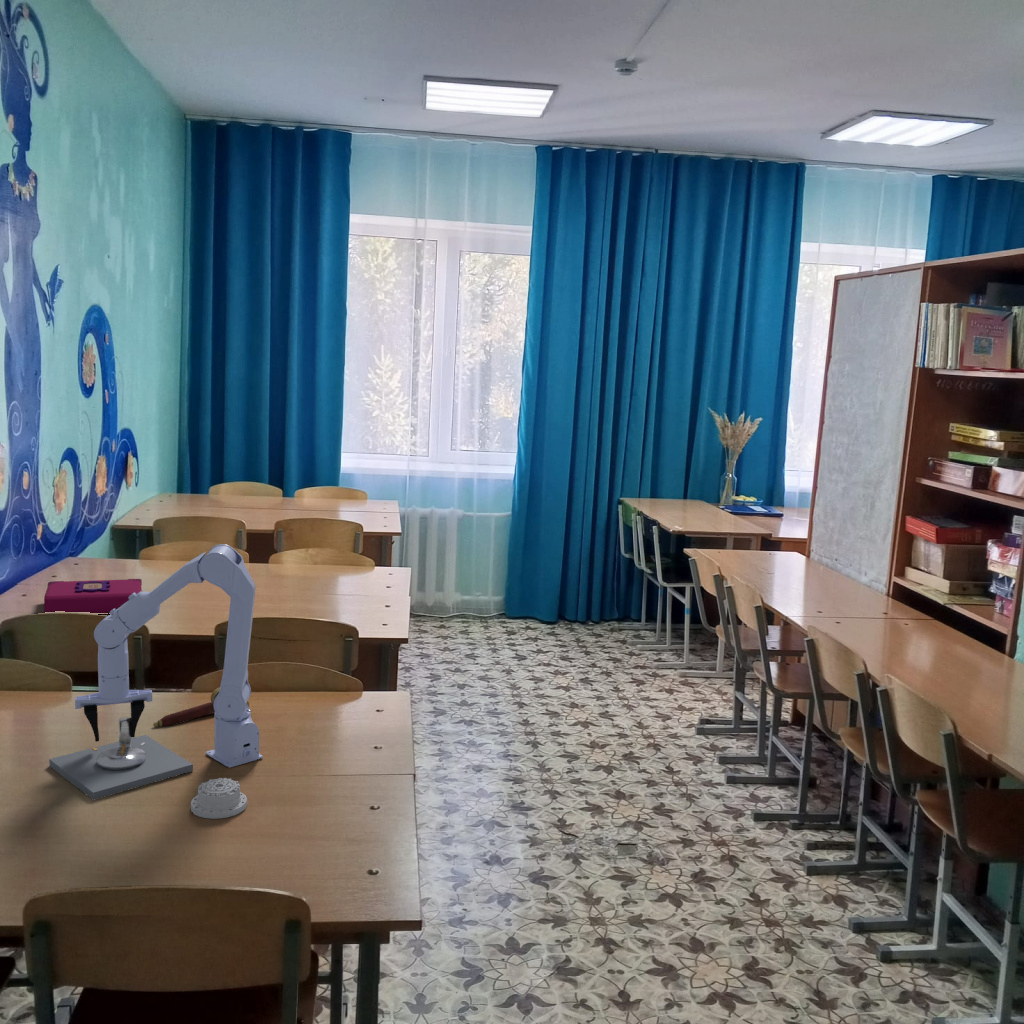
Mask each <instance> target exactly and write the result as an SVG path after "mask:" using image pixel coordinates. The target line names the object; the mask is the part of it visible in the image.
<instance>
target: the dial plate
mask: <svg viewBox="0 0 1024 1024" xmlns="http://www.w3.org/2000/svg"><path fill="white" fill-rule="evenodd" d="M131 739H132V742H131V747H134V748H139V749H142V750H143V751H144V752H145V761H144V762H143V763H142V764H140V765H138V766H136V767H133V768H129V769H123V770H107V769H103V768H100V767H99V766H98V765H97V756H98V755H99V754H100V753H102V752H104V751H106V750H109V749H113V748H119V745H120V744H119V741H115V742H113V743H108V744H103V745H100V746H97V747H96V746H95V747H91V748H87V749H84V750H80V751H76V752H71V753H69V754H63V755H60V756H56V757H52V758H49V760H48V763H49V766H48V767H50V768H51V769H52V768H53V769H52V770H54V771H55V772H57V773H58V774H59V776H61V777H63V779H65V778H66V779H65V780H67V781H68V782H69V781H70V782H71V783H70V782H69V783H70V784H72V785H73V784H74V785H75V786H74V785H73V786H74V787H75V788H76V789H78V788H79V789H80V790H79V789H78V790H79V791H81V790H82V791H83V792H84V793H83V792H82V791H81V792H82V793H83V794H85V795H86V794H87V795H88V796H89V797H88V796H87V795H86V796H87V797H88V798H90V799H91V798H92V799H93V801H95V800H94V799H96V800H98V799H97V798H100V799H102V798H101V797H103V798H105V797H104V796H106V797H109V796H108V795H110V796H112V795H111V794H113V795H115V794H114V793H117V794H119V793H118V792H120V793H122V792H121V791H124V792H126V791H125V790H127V791H129V790H128V789H131V788H134V789H136V788H135V787H137V788H139V787H138V786H141V787H143V786H142V785H144V786H146V785H145V784H148V785H150V784H149V783H151V784H153V783H152V782H155V781H158V782H160V781H159V780H162V779H165V780H167V779H166V778H168V777H172V776H175V777H177V776H176V775H179V776H181V775H180V774H182V775H184V774H183V773H186V774H188V773H187V772H189V773H191V771H194V763H192V762H190V761H188V760H187V759H185V758H184V757H182V756H180V755H179V754H177V753H176V752H174V751H173V750H171V749H169V748H168V747H167V746H165V745H163V744H161V743H160V742H158V741H156V740H155V739H153V738H152V737H150V736H149V735H147V734H143V735H139V736H135V737H132V738H131ZM172 778H173V777H172ZM168 779H169V778H168ZM162 781H163V780H162ZM155 783H156V782H155ZM131 790H132V789H131ZM92 799H91V800H92Z"/></svg>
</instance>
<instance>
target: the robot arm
mask: <svg viewBox="0 0 1024 1024" xmlns="http://www.w3.org/2000/svg"><path fill="white" fill-rule="evenodd" d="M206 553H207V554H206ZM205 581H206V582H207V583H210V584H212V585H214V586H216V587H218V588H220V589H221V590H222V591H223V592H225V593H226V595H228V596H229V599H230V602H229V612H228V619H227V620H228V623H227V633H226V640H225V641H226V642H225V651H224V662H223V671H222V677H221V681H220V686H219V687H220V691H219V694H218V695H217V697H216V698H215V700H214V710H215V712H214V733H213V734H214V739H213V741H214V745H213V746H214V749H211V750H207V751H205V754H206V755H207V756H209V757H210V758H212V759H214V760H215V761H217V762H218V763H221V764H222V765H223V766H225V767H227V768H233V767H238V766H241V765H243V764H248V763H251V762H253V761H257V759H258V760H260V758H261V759H262V758H263V757H264V756H263V755H262V754H261V753H260V730H259V727H258V725H257V724H256V723H255V722H254V721H253V719H252V716H251V714H252V712H251V711H252V709H250V706H249V707H248V705H247V704H246V703H247V701H248V702H249V699H250V697H251V694H252V689H251V685H250V683H249V671H248V665H249V655H250V654H249V653H250V646H251V637H252V636H251V635H252V629H253V618H254V616H253V615H254V606H255V598H256V597H255V596H256V590H257V589H256V584H255V582H254V580H253V578H252V575H251V573H250V572H249V570H248V568H247V566H246V564H245V561H244V557H243V556H242V554H240V553H239V552H238V551H237V550H236V549H235V548H233V547H232V546H231V545H229V544H223V543H222V544H221V543H220V544H216V545H214V546H212V547H211V548H210V549H209V551H208V552H207V551H204V552H202V553H200V554H199V555H198V556H196V557H194V558H192V559H191V560H189V561H188V562H186V563H185V564H183V566H181V567H180V568H179V569H178V570H176V571H175V572H174V573H173V574H171V575H170V576H168V578H166V579H165V580H164V581H162V582H161V583H160V584H159V585H157V587H155V588H154V589H153V590H152V591H143V590H142V591H141V592H139V593H138V594H136V593H133V594H131V595H130V596H129V597H128V598H129V599H130V600H129V601H127V602H126V603H125V604H123V605H122V606H121V607H119V608H118V609H117V610H116V609H115V608H114V609H113V610H111V611H110V614H111V615H105V617H104V618H103V619H102V620H101V621H99V623H98V624H97V625H96V626H95V629H94V631H93V639H94V641H95V642H96V643H97V649H98V652H97V670H98V671H97V673H98V675H97V677H98V692H96V693H90V694H87V695H86V694H85V695H80V696H75V697H74V706H75V707H74V709H75V710H79V709H80V710H81V709H82V708H83V714H84V716H85V717H86V719H87V720H88V722H89V724H90V727H91V729H92V732H93V734H94V739H95V740H94V741H95V742H100V732H99V727H98V725H99V724H98V723H99V722H98V721H99V720H98V719H99V718H98V717H99V715H98V706H109V705H119V704H127V703H128V704H130V718H131V738H135V737H136V730H137V726H138V723H139V720H140V717H141V716H142V713H143V712H144V710H145V707H146V706H145V702H147V703H148V702H149V703H150V702H153V691H152V689H130V677H129V675H130V672H129V667H130V666H129V649H128V636H129V635H130V634H132V633H135V632H136V631H138V630H139V629H141V628H142V627H143V626H144V625H145V624H146V623H149V622H150V621H151V620H152V619H154V618H155V617H156V616H157V615H159V613H160V611H161V605H162V604H163V603H164V602H165V601H167V600H168V599H169V598H171V597H173V596H174V595H176V593H178V592H180V590H182V589H183V588H185V587H186V586H187V585H189V584H202V583H204V582H205Z"/></svg>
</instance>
